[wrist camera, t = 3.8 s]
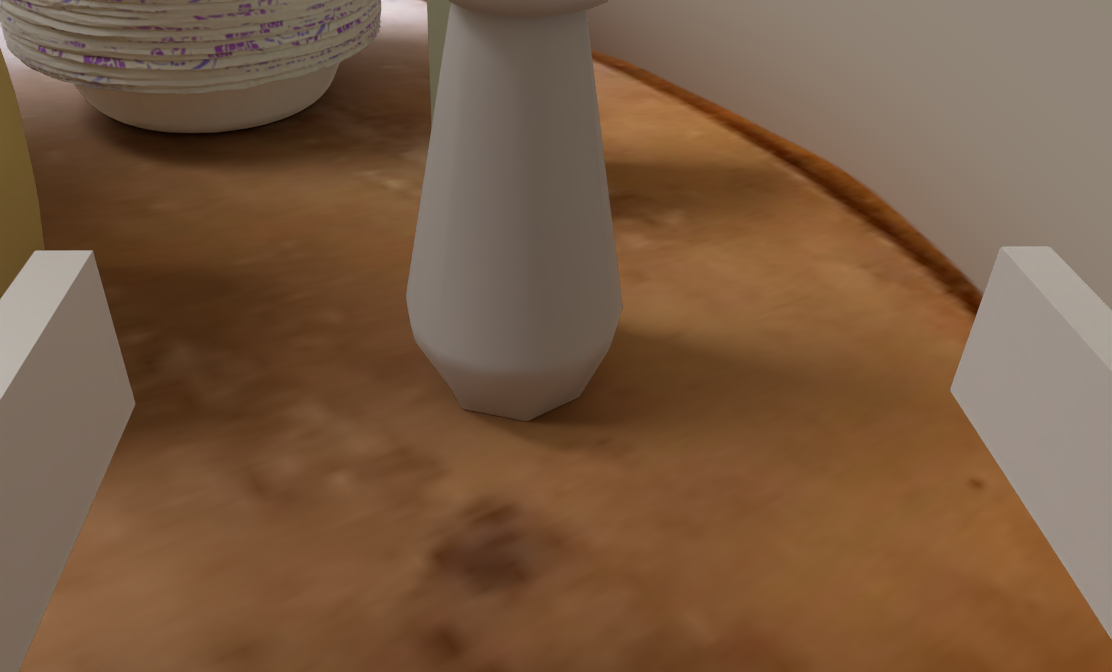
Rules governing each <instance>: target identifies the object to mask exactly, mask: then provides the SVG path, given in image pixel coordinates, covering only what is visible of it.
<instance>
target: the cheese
mask: <svg viewBox="0 0 1112 672" xmlns="http://www.w3.org/2000/svg"><path fill="white" fill-rule="evenodd" d="M34 251H45V247H44V239H43V231H42V223H41V215H40V207H39V200H38V195H37V189H36V183H35V178H34V174H33V169H32V164H31V160H30V155H29V151H28V146H27V142H26V137H25V133H24V129H23V124H22V120H21V115H20V111H19V107H18V103H17V99H16V95H15V91H14V88H13V85H12V82H11V79H10V75H9V72H8V69H7V66H6V63H5V60H4V58H3V55H2V52H1V49H0V299H1V298H2V296H3V295H4V293H5V292H6V291H7V289H8V288H9V286H10V285H11V284H12V282H13V281H14V279H15V278H16V277H17V275H18V274H19V272H20V271H21V270H22V268H23V267H24V265H25V264H26V263H27V261H28V260H29V258H30V257H31V256H32V254H33V253H34Z"/></svg>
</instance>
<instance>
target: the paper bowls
mask: <svg viewBox="0 0 1112 672" xmlns="http://www.w3.org/2000/svg"><path fill="white" fill-rule="evenodd" d="M380 15H381V0H0V22H1V26H2V31H3V34H4V37H5V40H6V43H7V47H8V49H9V50H10V51H11V53H13V54H14V56H16V57H17V58H19V59H20V60H21V61H22V62H23V63H24V64H25V65H27V66H28V67H30V68H31V69H34V70H36V71H39V72H41V73H43V74H45V75H47V76H50V77H52V78H55V79H58V80H61V81H64V82H69V83H73V84H74V85H75V87H76V88H77V89H78V90H79V92H80V93H81V94H82V95H83V96H84V97H85V99H86V100H87V101H88V102H89V103H90V104H91V105H92V106H94V107H95V108H96V109H98V110H99V111H100V112H101V113H103V114H105V115H107V116H109V117H111V118H113V119H115V120H118V121H120V122H123V123H126V124H129V125H132V126H135V127H139V128H144V129H148V130H154V131H162V132H173V133H214V132H226V131H233V130H240V129H246V128H252V127H256V126H261V125H265V124H268V123H272V122H275V121H278V120H281V119H284V118H286V117H289V116H291V115H293V114H295V113H298V112H300V111H302V110H303V109H305V108H307V107H308V106H310V105H311V104H313V103H314V102H316V101H317V100H318V99H319V98H320V97H321V96H322V95H323V94H324V93H325V92H326V90H327V89H328V88H329V86H330V85H331V83H332V81H333V79H334V76H335V74H336V72H337V69H338V66H339V64H340V62H341V61H343V60H344V59H347V58H350V57H351V56H353V55H354V54H357V53H359V52H360V51H361V50H363V49H365V48H366V47H367V45H368V44H369V43H370V42H372V41H373V39H374V38H375V37H376V36H377V33H378V32H379V28H380Z"/></svg>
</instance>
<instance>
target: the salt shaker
mask: <svg viewBox="0 0 1112 672" xmlns="http://www.w3.org/2000/svg"><path fill="white" fill-rule="evenodd" d="M448 1H450V2H451V5H450V12H449V18H448V25H447V31H446V38H445V44H444V51H443V57H442V64H441V70H440V77H439V83H438V90H437V96H436V103H435V109H434V116H433V122H432V129H431V135H430V142H429V148H428V155H427V161H426V168H425V174H424V181H423V188H422V194H421V201H420V207H419V214H418V220H417V227H416V233H415V240H414V246H413V253H412V259H411V266H410V272H409V279H408V285H407V292H406V300H407V306H408V312H409V317H410V323H411V328H412V332H413V336H414V340H415V342H416V343H417V345H418V346H419V347H420V349H421V350H422V351H423V353H424V354H425V355H426V357H427V358H428V359H429V361H430V362H431V363H432V365H433V366H434V367H435V369H436V370H437V372H438V373H439V374H440V376H441V377H442V378H443V380H444V381H445V382H446V384H447V385H448V386H449V388H450V389H451V391H452V392H453V394H454V396H455V398H456V399H457V401H458V403H459V404H460V406H461V408H462V409H465V410H470V411H475V412H480V413H485V414H490V415H496V416H501V417H506V418H511V419H516V420H521V421H526V422H527V421H529V420H531V419H533V418H535V417H538V416H540V415H542V414H544V413H546V412H548V411H551V410H553V409H555V408H557V407H559V406H561V405H563V404H566V403H568V402H570V401H572V400H574V399H576V398H578V397H580V395H581V394H582V392H583V391H584V389H585V387H586V386H587V384H588V383H589V381H590V380H591V378H592V376H593V375H594V373H595V372H596V370H597V368H598V367H599V365H600V364H601V362H602V361H603V359H604V357H605V356H606V354H607V353H608V351H609V349H610V347H611V344H612V340H613V337H614V334H615V331H616V328H617V325H618V322H619V318H620V315H621V311H622V307H623V305H622V297H621V289H620V281H619V273H618V265H617V256H616V248H615V240H614V232H613V224H612V216H611V208H610V200H609V192H608V184H607V176H606V168H605V159H604V151H603V143H602V135H601V127H600V119H599V111H598V103H597V95H596V87H595V79H594V71H593V63H592V54H591V46H590V39H589V30H588V23H587V12H586V10H589V9H591V8H594V7H596V6H599V5H601V4H604V3H606V2H607V1H608V0H448Z"/></svg>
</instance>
